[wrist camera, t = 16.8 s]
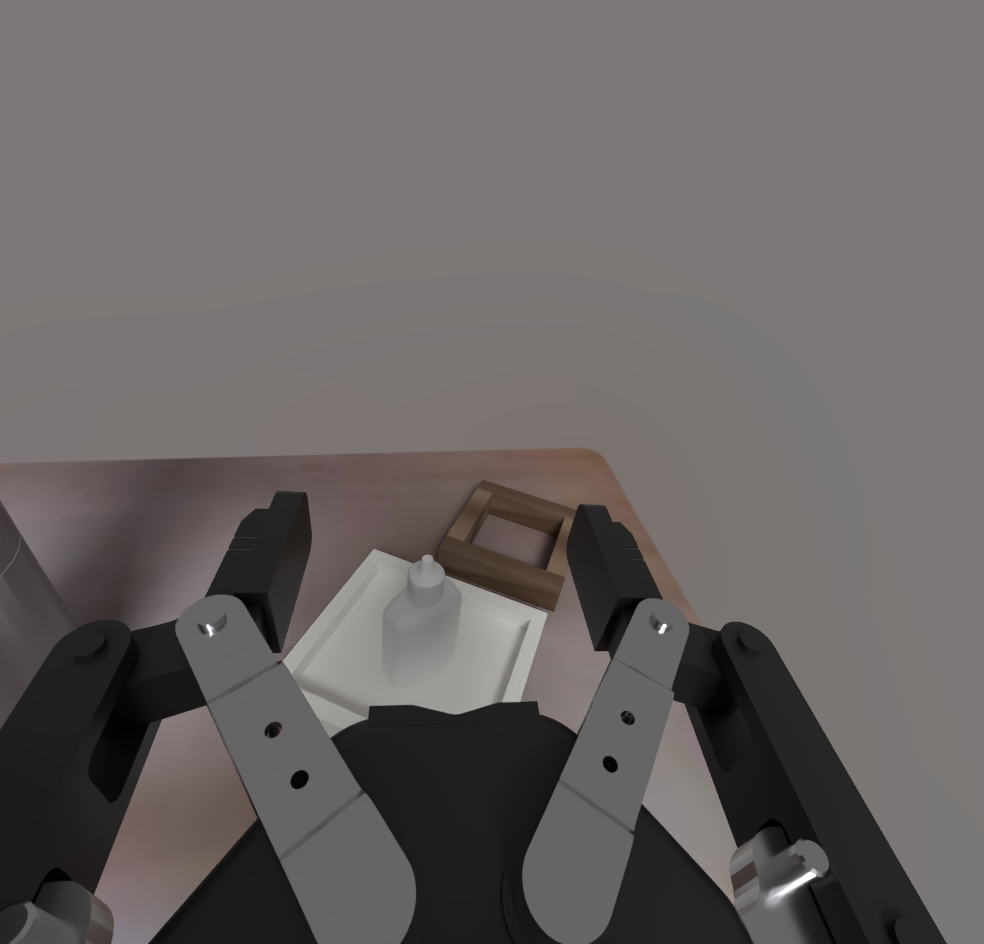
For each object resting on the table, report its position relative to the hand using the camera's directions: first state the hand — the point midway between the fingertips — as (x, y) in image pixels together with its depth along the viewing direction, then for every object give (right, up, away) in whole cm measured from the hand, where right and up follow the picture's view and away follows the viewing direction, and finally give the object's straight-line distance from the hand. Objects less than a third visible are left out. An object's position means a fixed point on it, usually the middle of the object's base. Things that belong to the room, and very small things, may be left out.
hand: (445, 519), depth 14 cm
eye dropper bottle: (-4, -14, +23) cm, 27 cm away
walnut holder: (+4, -7, +36) cm, 37 cm away
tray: (-5, -14, +24) cm, 28 cm away
